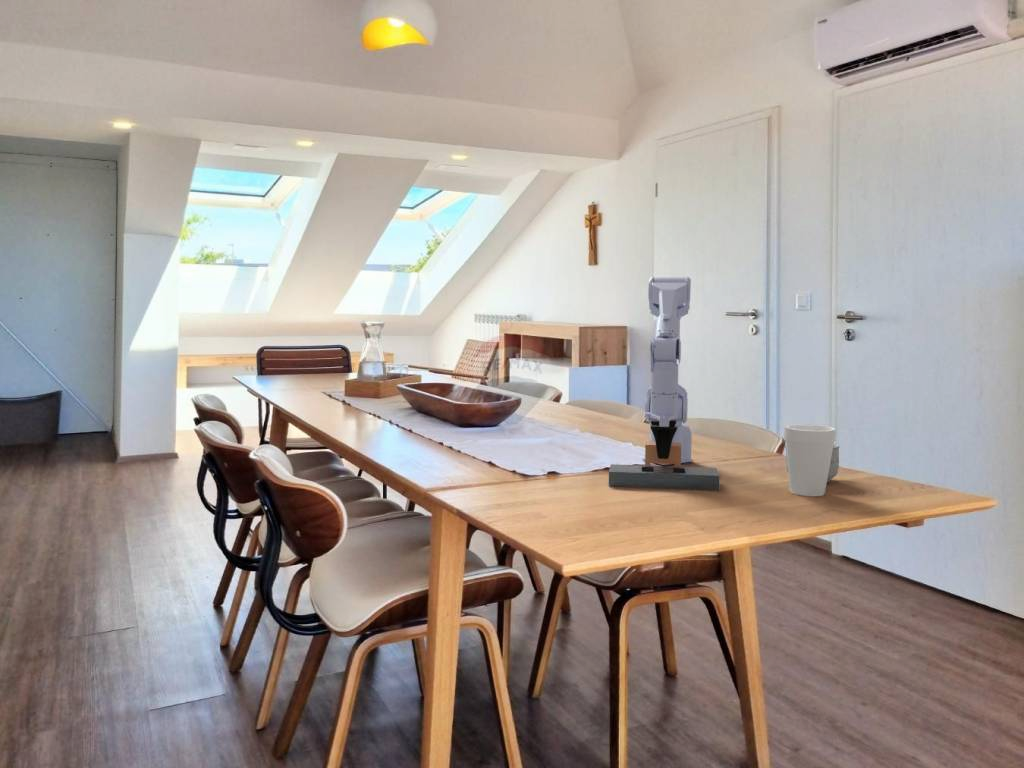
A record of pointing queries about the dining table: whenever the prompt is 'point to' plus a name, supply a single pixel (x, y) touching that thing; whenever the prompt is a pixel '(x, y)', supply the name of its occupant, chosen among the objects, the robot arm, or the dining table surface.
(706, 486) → the slate rail
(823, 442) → the foam cup
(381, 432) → the dining table surface
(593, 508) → the dining table surface
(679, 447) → the tan orange block
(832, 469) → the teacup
